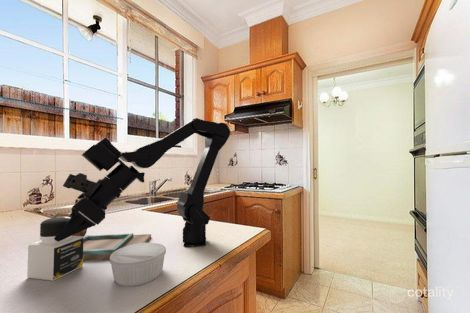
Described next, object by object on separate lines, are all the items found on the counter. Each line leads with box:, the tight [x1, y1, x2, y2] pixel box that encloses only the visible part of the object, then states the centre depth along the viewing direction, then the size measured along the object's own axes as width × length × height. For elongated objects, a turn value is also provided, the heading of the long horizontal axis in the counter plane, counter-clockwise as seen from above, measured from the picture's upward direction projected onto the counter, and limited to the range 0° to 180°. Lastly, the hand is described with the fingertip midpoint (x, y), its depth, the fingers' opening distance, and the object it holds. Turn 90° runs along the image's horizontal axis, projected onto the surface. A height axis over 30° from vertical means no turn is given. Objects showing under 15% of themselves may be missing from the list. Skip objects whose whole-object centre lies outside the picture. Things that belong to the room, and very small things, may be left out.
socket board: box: [83, 233, 152, 261], centre depth 64 cm, size 20×16×2 cm
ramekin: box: [109, 242, 167, 287], centre depth 48 cm, size 11×11×5 cm
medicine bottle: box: [26, 217, 85, 282], centre depth 50 cm, size 7×7×12 cm
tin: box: [53, 212, 88, 237], centre depth 73 cm, size 15×3×8 cm, turn 68°
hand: (58, 234), depth 50 cm, fingers open, 9 cm apart
